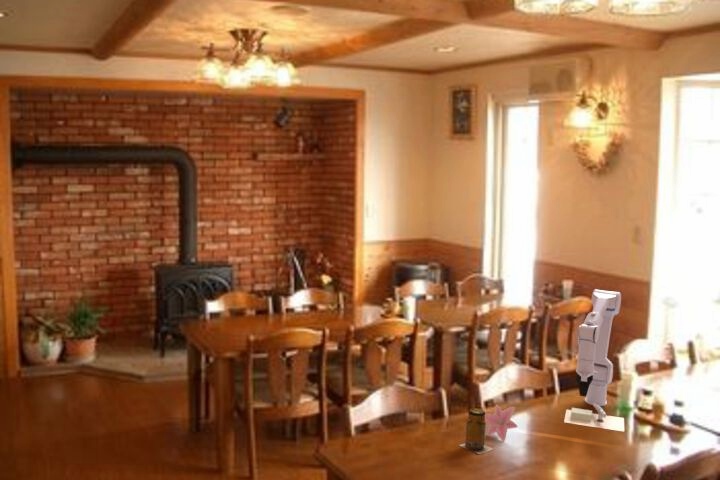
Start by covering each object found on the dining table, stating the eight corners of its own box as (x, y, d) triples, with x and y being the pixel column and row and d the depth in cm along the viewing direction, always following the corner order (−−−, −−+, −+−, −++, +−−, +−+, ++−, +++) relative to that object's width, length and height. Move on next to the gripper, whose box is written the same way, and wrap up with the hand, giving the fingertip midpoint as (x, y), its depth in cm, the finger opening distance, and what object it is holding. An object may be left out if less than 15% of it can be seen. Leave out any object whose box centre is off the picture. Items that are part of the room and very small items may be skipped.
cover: (571, 414, 265) (571, 407, 265) (591, 417, 263) (592, 410, 263) (570, 418, 261) (571, 412, 260) (591, 422, 258) (591, 415, 258)
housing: (566, 412, 270) (566, 409, 270) (623, 420, 264) (623, 417, 264) (563, 425, 257) (564, 422, 257) (624, 434, 251) (624, 431, 251)
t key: (601, 424, 256) (602, 413, 255) (592, 412, 268) (592, 401, 267) (605, 424, 256) (606, 413, 255) (596, 412, 268) (597, 402, 267)
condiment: (474, 440, 240) (476, 405, 238) (494, 449, 233) (496, 413, 232) (458, 445, 235) (460, 409, 234) (478, 455, 229) (481, 418, 227)
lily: (477, 430, 251) (474, 411, 246) (506, 415, 255) (503, 395, 249) (498, 453, 242) (495, 434, 237) (527, 437, 245) (525, 417, 240)
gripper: (597, 365, 251) (594, 403, 253) (598, 354, 265) (595, 391, 266) (576, 362, 253) (573, 400, 255) (578, 352, 267) (575, 388, 269)
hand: (583, 395), depth 261 cm, fingers closed
